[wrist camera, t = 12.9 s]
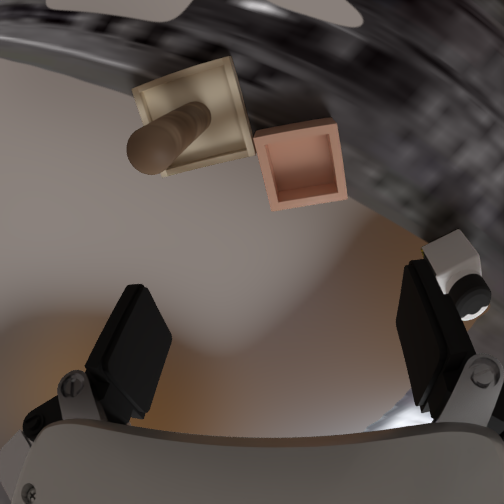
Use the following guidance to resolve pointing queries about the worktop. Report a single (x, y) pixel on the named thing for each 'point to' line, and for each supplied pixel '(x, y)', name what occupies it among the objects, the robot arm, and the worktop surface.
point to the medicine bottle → (459, 273)
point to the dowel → (167, 137)
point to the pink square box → (301, 163)
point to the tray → (218, 102)
